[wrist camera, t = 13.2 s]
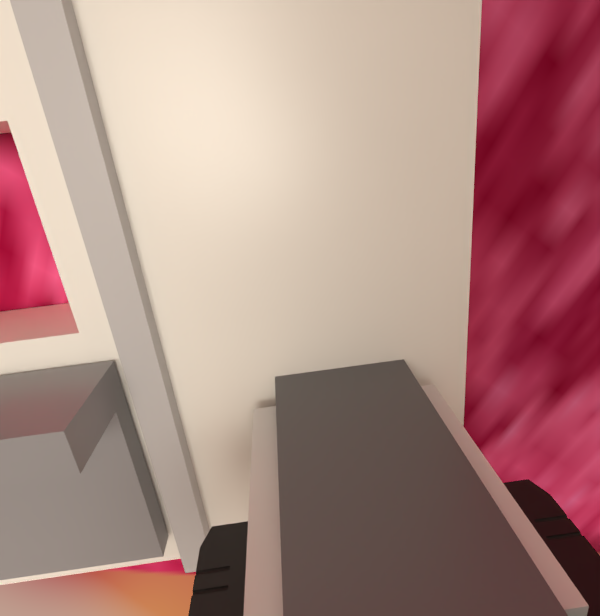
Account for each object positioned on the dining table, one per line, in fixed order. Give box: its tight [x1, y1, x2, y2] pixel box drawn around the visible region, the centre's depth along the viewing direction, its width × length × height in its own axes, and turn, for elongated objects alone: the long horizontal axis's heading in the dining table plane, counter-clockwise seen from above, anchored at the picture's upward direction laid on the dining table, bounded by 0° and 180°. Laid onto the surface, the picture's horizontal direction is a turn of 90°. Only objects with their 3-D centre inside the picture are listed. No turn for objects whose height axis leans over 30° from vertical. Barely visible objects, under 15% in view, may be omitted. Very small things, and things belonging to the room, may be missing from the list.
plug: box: [275, 359, 568, 616], centre depth 8 cm, size 4×4×11 cm
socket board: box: [0, 0, 482, 585], centre depth 13 cm, size 20×22×4 cm
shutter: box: [0, 361, 169, 580], centre depth 12 cm, size 7×7×3 cm
